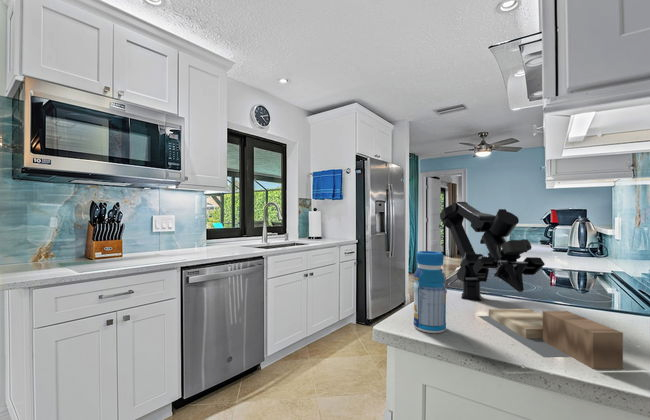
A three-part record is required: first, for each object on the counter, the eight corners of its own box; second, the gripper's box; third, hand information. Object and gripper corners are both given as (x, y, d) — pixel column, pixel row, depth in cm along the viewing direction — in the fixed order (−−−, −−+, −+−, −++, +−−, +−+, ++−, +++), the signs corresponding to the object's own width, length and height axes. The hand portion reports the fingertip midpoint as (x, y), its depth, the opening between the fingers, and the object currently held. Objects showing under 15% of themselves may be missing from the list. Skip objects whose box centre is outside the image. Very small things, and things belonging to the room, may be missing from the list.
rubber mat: (477, 317, 89) (477, 316, 89) (527, 316, 90) (527, 315, 90) (543, 358, 64) (543, 356, 64) (612, 357, 64) (612, 356, 64)
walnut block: (542, 311, 72) (593, 332, 59) (567, 311, 72) (622, 332, 59) (542, 340, 72) (593, 368, 59) (567, 340, 72) (622, 368, 59)
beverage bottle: (429, 336, 75) (430, 255, 75) (406, 325, 82) (406, 251, 82) (453, 331, 78) (454, 253, 79) (429, 320, 86) (429, 249, 86)
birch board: (488, 316, 89) (488, 308, 89) (528, 316, 89) (528, 308, 89) (525, 338, 73) (525, 329, 73) (573, 337, 74) (573, 328, 74)
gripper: (479, 228, 89) (502, 274, 78) (540, 230, 90) (572, 275, 79) (464, 252, 97) (484, 296, 85) (521, 253, 97) (547, 297, 86)
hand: (521, 291), depth 84 cm, fingers closed
